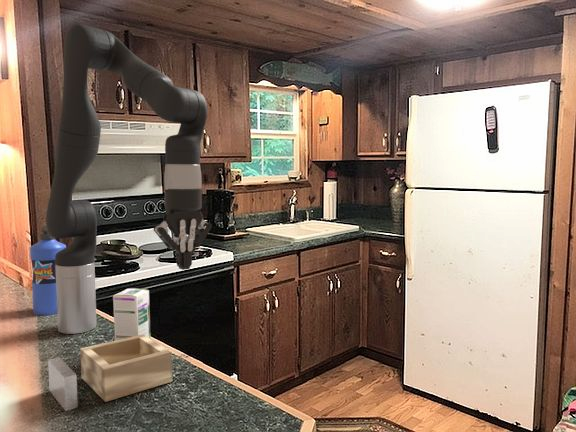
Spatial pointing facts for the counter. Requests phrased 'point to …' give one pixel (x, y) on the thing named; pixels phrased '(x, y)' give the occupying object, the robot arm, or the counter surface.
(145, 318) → the syrup box
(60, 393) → the backstop wall
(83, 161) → the robot arm
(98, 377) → the open wooden box
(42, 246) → the water bottle
